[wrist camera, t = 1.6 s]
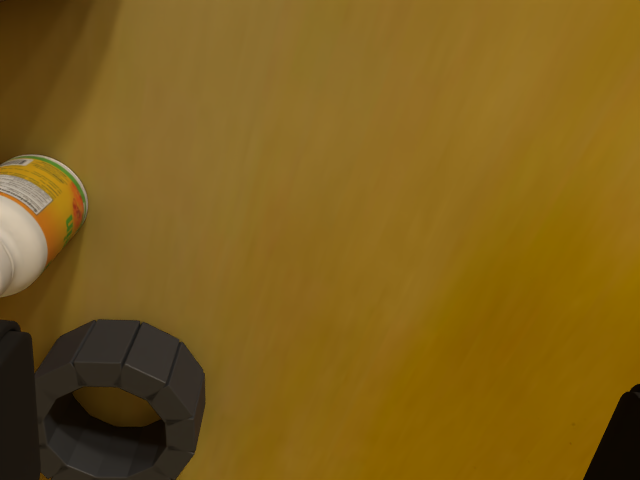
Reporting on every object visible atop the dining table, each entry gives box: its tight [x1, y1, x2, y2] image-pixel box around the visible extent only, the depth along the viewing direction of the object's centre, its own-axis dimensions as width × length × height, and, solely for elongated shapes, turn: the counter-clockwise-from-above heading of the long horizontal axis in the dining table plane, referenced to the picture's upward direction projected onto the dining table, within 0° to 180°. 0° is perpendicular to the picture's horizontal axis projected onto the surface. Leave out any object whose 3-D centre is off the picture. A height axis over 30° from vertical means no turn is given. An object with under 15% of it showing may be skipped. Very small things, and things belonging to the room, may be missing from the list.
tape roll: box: [34, 320, 205, 480], centre depth 37 cm, size 11×11×4 cm
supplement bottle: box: [0, 155, 88, 297], centre depth 29 cm, size 5×5×10 cm
